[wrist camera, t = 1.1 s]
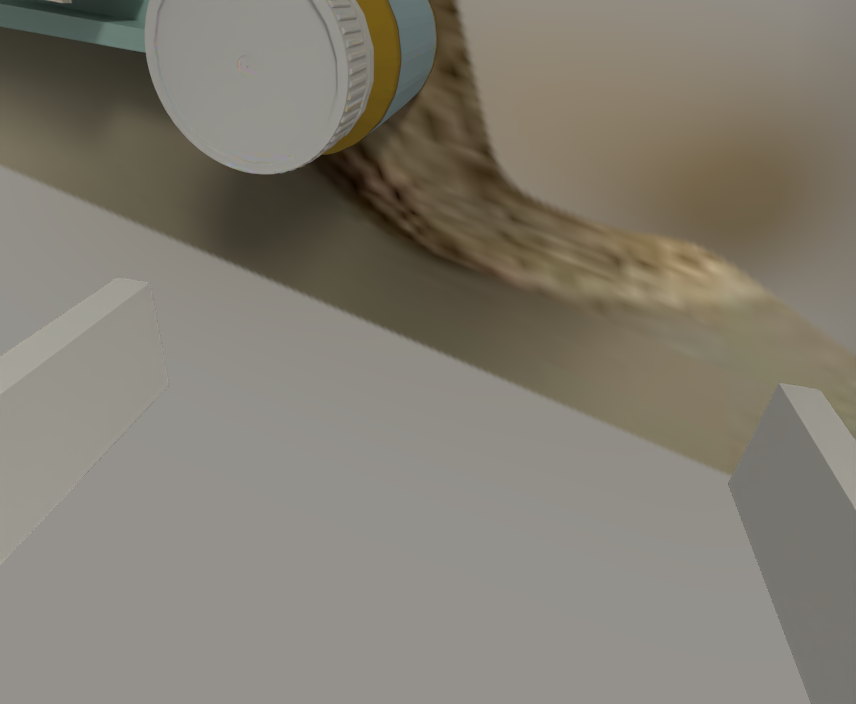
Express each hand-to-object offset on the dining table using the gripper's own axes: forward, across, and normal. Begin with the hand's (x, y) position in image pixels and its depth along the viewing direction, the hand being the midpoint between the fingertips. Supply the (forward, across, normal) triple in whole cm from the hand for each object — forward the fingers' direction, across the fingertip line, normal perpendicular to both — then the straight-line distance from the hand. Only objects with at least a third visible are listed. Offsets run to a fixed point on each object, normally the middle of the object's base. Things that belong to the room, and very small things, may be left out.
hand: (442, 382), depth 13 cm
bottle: (+22, -7, +4) cm, 24 cm away
